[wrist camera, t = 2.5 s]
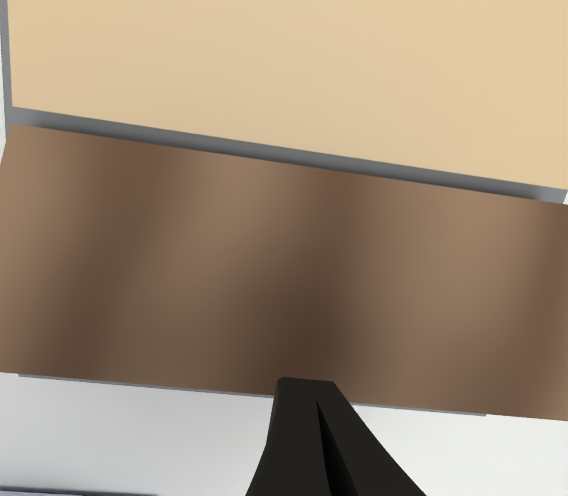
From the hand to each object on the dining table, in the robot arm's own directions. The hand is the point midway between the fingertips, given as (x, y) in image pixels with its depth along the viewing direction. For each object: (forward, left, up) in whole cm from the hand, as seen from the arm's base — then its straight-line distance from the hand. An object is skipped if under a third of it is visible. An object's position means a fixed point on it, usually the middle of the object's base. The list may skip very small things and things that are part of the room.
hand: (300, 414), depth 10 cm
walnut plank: (0, +1, -5) cm, 5 cm away
